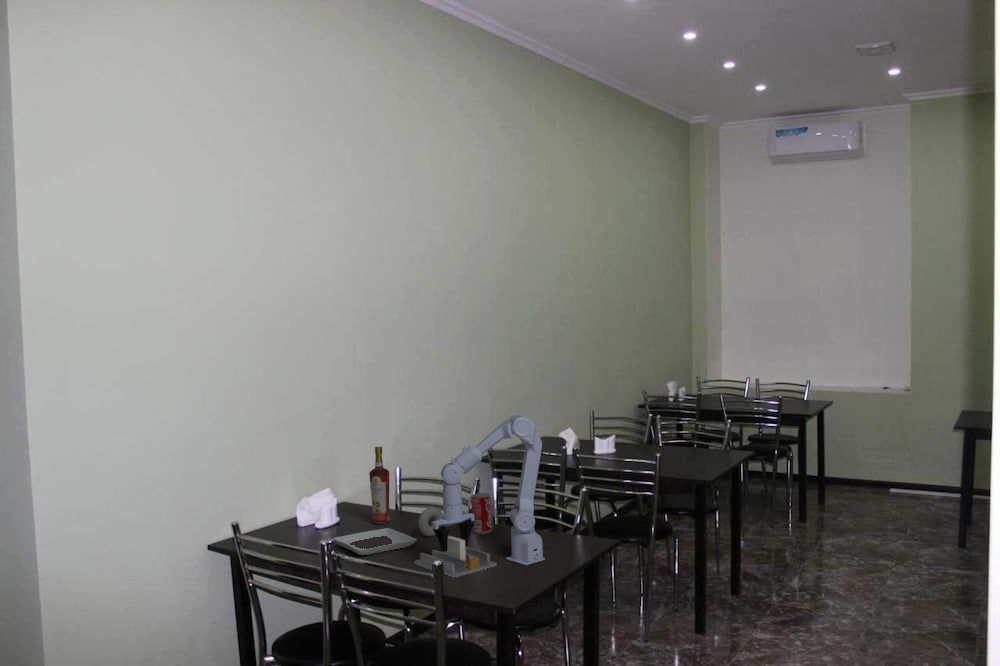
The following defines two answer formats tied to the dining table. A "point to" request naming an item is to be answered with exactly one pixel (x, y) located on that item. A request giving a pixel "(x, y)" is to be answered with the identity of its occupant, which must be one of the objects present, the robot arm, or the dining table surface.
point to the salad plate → (397, 537)
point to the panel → (456, 547)
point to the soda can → (481, 513)
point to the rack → (457, 562)
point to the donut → (425, 518)
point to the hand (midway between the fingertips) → (454, 548)
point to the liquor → (379, 489)
